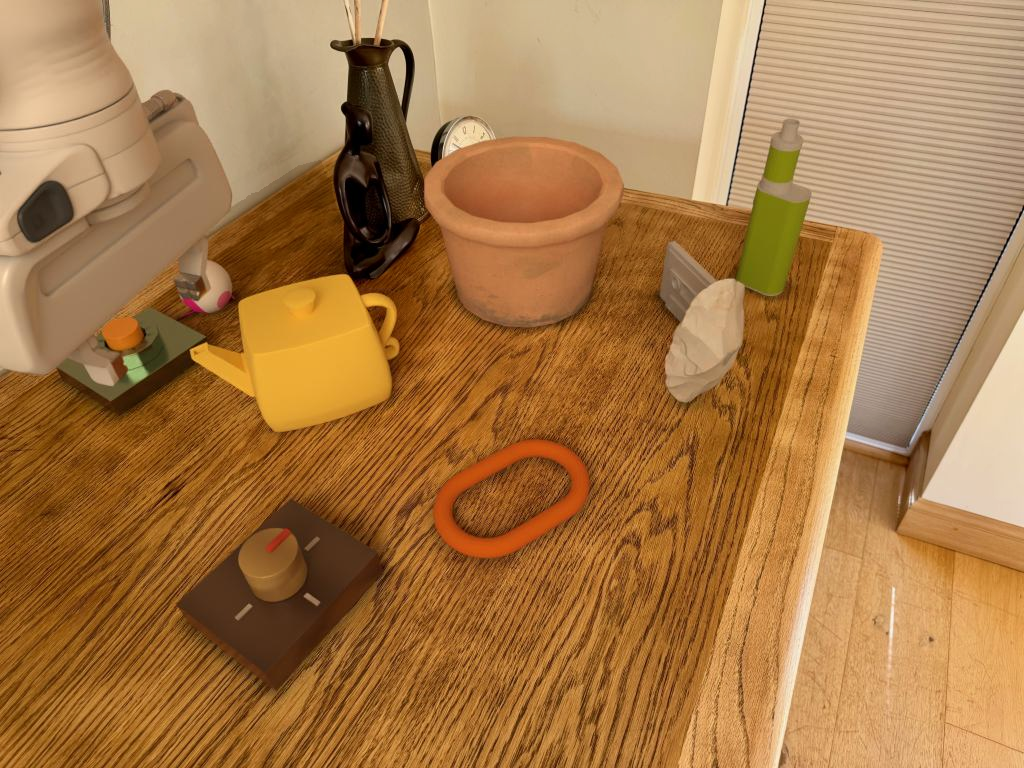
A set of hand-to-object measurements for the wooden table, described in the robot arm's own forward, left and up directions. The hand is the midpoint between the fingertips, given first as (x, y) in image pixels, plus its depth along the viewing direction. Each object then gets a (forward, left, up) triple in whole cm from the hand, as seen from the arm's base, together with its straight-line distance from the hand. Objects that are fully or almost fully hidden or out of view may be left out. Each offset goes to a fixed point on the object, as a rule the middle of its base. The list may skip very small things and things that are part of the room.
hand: (157, 333), depth 51 cm
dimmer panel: (-4, -10, -21) cm, 23 cm away
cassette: (+46, -23, -21) cm, 56 cm away
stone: (+35, -29, -21) cm, 50 cm away
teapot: (+15, +6, -21) cm, 27 cm away
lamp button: (+7, +25, -17) cm, 31 cm away
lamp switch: (+7, +25, -21) cm, 33 cm away
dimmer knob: (-4, -10, -18) cm, 21 cm away
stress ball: (+18, +27, -21) cm, 39 cm away
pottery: (+42, -3, -21) cm, 47 cm away
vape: (+58, -27, -21) cm, 68 cm away
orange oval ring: (+14, -20, -21) cm, 32 cm away
